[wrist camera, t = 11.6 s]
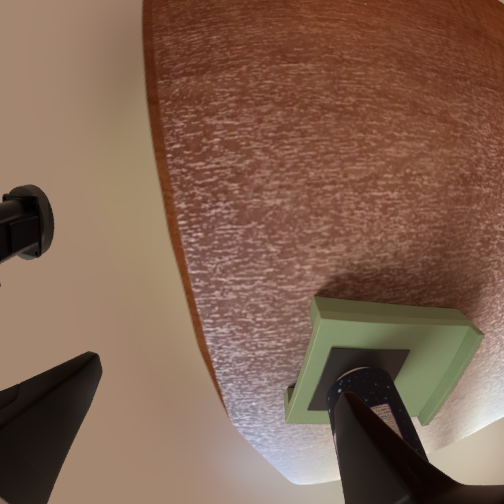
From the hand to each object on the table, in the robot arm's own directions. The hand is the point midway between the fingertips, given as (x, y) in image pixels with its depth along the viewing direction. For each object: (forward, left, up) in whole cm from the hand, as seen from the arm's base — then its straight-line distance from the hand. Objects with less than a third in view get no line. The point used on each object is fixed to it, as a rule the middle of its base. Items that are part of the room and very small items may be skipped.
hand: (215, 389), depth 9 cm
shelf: (+14, -8, -13) cm, 21 cm away
